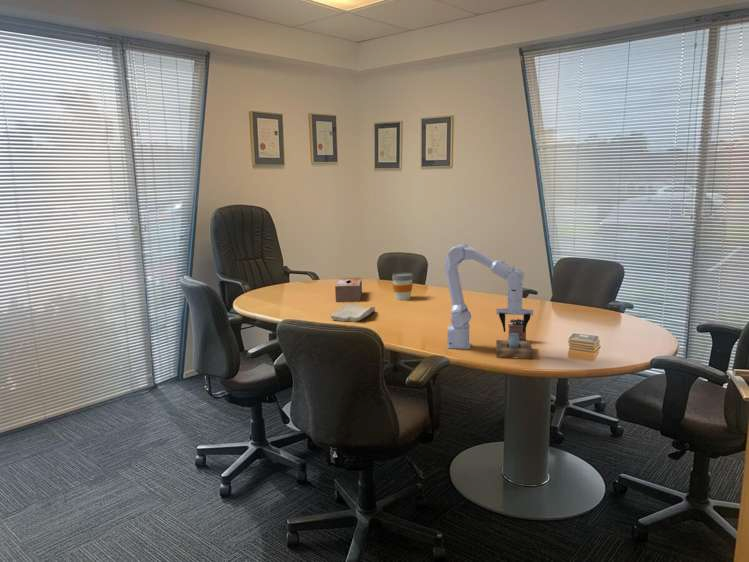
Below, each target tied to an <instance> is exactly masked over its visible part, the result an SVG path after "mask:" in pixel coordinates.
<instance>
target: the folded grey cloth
mask: <svg viewBox="0 0 749 562" xmlns="http://www.w3.org/2000/svg"><path fill="white" fill-rule="evenodd" d="M374 312H376V307H375V306H370V307H365V306H362V305H358V304H355V303H352V304H349V303H348V304H344V305H342V306H340V307H339V308H337V309H336V310H335V311H334V312H333V313H332V314H331V316H330V318H331V319H332V320H334V321H338V322H353V323H355V322H359V321H361V320H363V319H365V318H366V317H368V316H369V315H371V314H372V313H374Z"/></svg>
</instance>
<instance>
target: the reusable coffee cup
mask: <svg viewBox="0 0 749 562" xmlns="http://www.w3.org/2000/svg"><path fill="white" fill-rule="evenodd" d="M413 276H414V275H413V273H411V272H396V273H395V272H394V273H392V277H391V279H392V289H393V292H394V298H395V300H397V301H408V300H411V295H412V290H413V279H414V277H413Z"/></svg>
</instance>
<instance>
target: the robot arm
mask: <svg viewBox="0 0 749 562" xmlns="http://www.w3.org/2000/svg"><path fill="white" fill-rule="evenodd" d="M467 260H474V261H476V262H478V263H480V264H481V265H483V266H486V267H488V268H489V269H490V271H491V273H492V274H495V275H496V276H498V277H499V278H502V279H504V280H506V282H507V284H508V285H507V308H496V311H495V313H496V315H498V317H499V320H500V323H501V324H502V329H503V333H506V315H514V316H515V315H517V316H519V315H520V316H521V315H522V316H523V318H522V319H523V333H525V329H526V330H527V325H528V323H529V322H530V319H531V316H534V309H525V308H524V309H523V290H524V288H523V281H524V279H525V274H524V272H523V271H522V270H521V269H520V268H516V267H515V266H512V265H510V264H507V263H505V261H504V260H499V259H497V260H493V259H491V258H490V257H489V256H487V255H485V254H484V253H483V252H480V251H479V250H477V249H475V248H474V247H473V246H470V245H468V244H466V243H460V244H458V245H455V246H453V247H451V248H450V249H449V250H448V252H447V256H446V259H445V263H444V271H445V277H446V282H447V285H448V291H449V295H450V300H451V305H452V307H451V311H450V314H451V317H450V323H451V325H447V340H446V342H447V349H461V350H462V349H463V350H466V349H467V350H469V349H471V342H470V324H469V322H470V321H471V318H472V314H471V312H470V311H469V309H468V306H467V304H466V303H465V300H464V295H463V289H462V285H461V284H462V283H461V280H460V274H459V269H458V267H459V266H460V264H461V263H462V262H463V261H467Z"/></svg>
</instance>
